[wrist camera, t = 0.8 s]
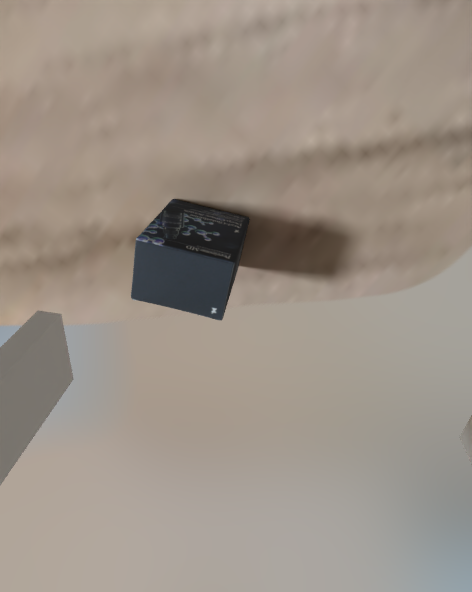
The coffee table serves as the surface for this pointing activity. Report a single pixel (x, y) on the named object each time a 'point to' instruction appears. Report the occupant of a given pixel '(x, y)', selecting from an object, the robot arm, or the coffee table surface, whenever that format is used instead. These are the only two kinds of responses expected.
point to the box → (189, 258)
